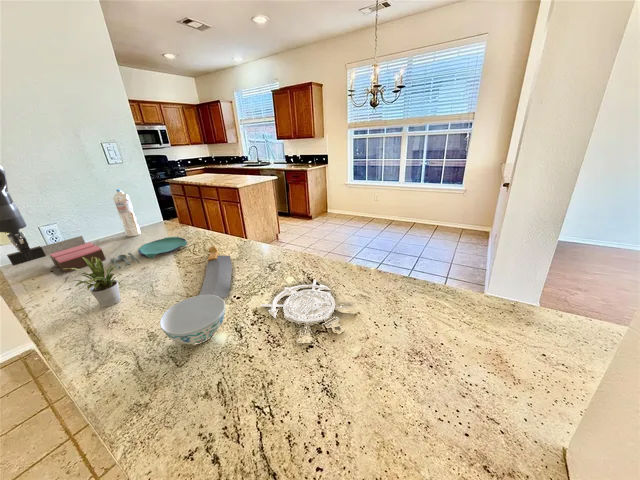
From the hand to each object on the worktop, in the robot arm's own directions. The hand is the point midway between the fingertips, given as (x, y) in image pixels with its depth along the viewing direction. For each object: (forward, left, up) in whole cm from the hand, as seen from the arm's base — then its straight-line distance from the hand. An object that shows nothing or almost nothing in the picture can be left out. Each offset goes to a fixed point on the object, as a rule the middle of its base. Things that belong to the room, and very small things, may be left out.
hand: (29, 259), depth 101 cm
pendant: (+38, -105, -8) cm, 112 cm away
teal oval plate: (+34, -19, -8) cm, 40 cm away
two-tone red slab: (+13, 0, -8) cm, 16 cm away
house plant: (+7, -46, -8) cm, 47 cm away
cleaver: (+38, -62, -8) cm, 73 cm away
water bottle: (+41, +16, -8) cm, 45 cm away
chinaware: (+14, -87, -8) cm, 88 cm away
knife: (+6, 0, 0) cm, 7 cm away
